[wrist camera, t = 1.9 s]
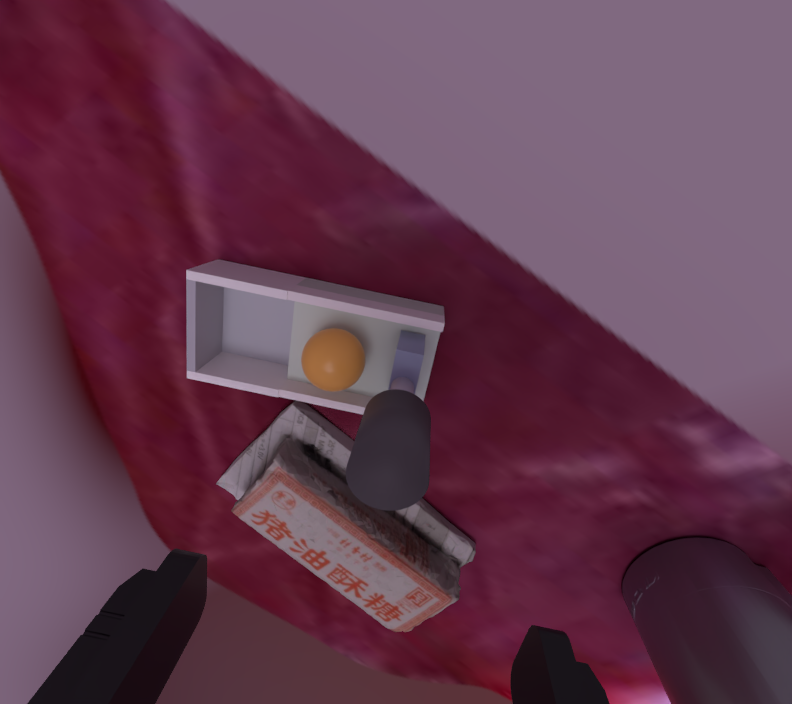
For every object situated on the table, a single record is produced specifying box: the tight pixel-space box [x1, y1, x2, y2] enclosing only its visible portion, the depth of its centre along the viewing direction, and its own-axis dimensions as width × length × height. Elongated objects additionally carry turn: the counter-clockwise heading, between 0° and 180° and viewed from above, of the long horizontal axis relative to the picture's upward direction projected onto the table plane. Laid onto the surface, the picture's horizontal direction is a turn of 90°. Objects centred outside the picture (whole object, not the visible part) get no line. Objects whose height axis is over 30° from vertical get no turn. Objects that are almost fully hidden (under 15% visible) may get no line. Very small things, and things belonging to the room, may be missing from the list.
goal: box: [186, 259, 306, 397], centre depth 25 cm, size 6×6×4 cm
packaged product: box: [216, 400, 476, 632], centre depth 30 cm, size 18×5×10 cm
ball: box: [301, 328, 365, 392], centre depth 23 cm, size 4×4×4 cm
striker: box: [346, 330, 431, 511], centre depth 20 cm, size 3×4×10 cm
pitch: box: [278, 278, 445, 415], centre depth 25 cm, size 8×6×3 cm
